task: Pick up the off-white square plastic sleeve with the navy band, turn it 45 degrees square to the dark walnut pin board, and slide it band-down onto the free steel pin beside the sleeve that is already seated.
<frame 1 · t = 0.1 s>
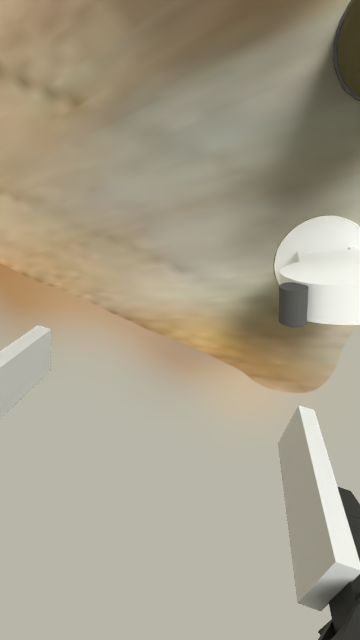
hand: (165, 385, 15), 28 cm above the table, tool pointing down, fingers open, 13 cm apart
light grey piece: (317, 262, 38), on the table
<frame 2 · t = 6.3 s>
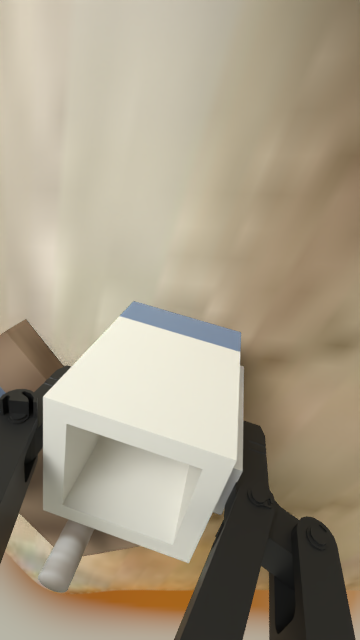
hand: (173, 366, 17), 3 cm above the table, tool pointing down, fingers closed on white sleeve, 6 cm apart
white sleeve: (174, 361, 17), point 3 cm above the table, touching gripper
pin board: (55, 450, 26), on the table
when the fingers open (4 cm above the table, at t = 12.0 s): white sleeve drops 2 cm, resting on pin board.
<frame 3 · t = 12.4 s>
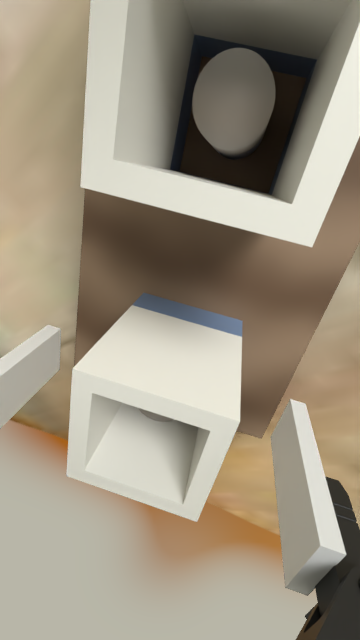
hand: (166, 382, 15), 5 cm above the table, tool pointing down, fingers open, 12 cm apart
white sleeve: (181, 348, 18), point 2 cm above the table, touching pin board
pin board: (207, 250, 17), on the table
seated sleeve: (237, 129, 13), point 2 cm above the table, touching pin board
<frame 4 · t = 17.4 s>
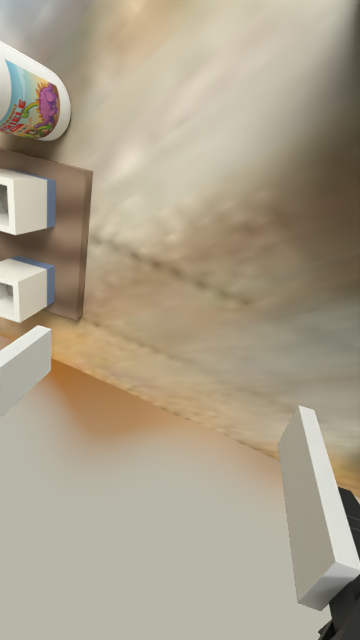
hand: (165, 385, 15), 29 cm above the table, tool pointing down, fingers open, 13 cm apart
white sleeve: (36, 279, 46), point 2 cm above the table, touching pin board
milk bottle: (45, 106, 37), on the table
pin board: (44, 239, 45), on the table
seated sleeve: (35, 198, 40), point 2 cm above the table, touching pin board
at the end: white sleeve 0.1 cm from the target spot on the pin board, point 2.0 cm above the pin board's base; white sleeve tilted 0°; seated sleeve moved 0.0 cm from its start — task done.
